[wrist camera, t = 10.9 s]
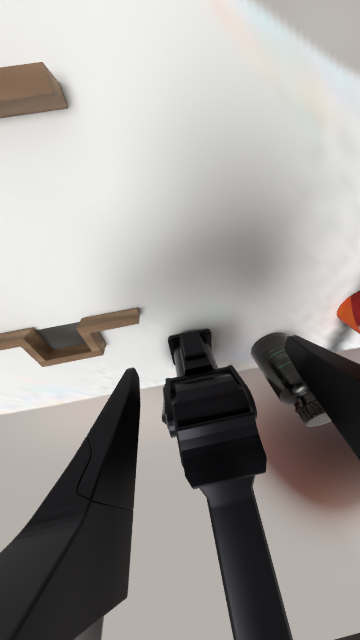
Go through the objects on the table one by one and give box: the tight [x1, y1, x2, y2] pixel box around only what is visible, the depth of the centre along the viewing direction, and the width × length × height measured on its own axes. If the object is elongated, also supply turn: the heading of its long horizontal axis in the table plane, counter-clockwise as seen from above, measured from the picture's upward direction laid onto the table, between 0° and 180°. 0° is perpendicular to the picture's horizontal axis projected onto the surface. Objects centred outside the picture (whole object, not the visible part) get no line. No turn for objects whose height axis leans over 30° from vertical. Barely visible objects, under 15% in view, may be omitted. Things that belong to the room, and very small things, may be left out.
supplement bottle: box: [252, 334, 331, 427], centre depth 25 cm, size 7×7×12 cm
